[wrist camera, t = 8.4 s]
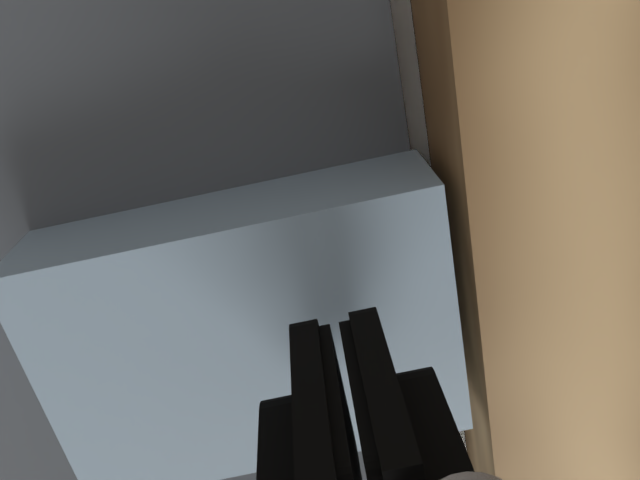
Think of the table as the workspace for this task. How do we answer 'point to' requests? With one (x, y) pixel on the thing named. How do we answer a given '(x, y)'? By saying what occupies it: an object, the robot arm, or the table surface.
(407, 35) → the table surface
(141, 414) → the tile
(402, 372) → the robot arm
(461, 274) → the wooden block
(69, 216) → the mat
